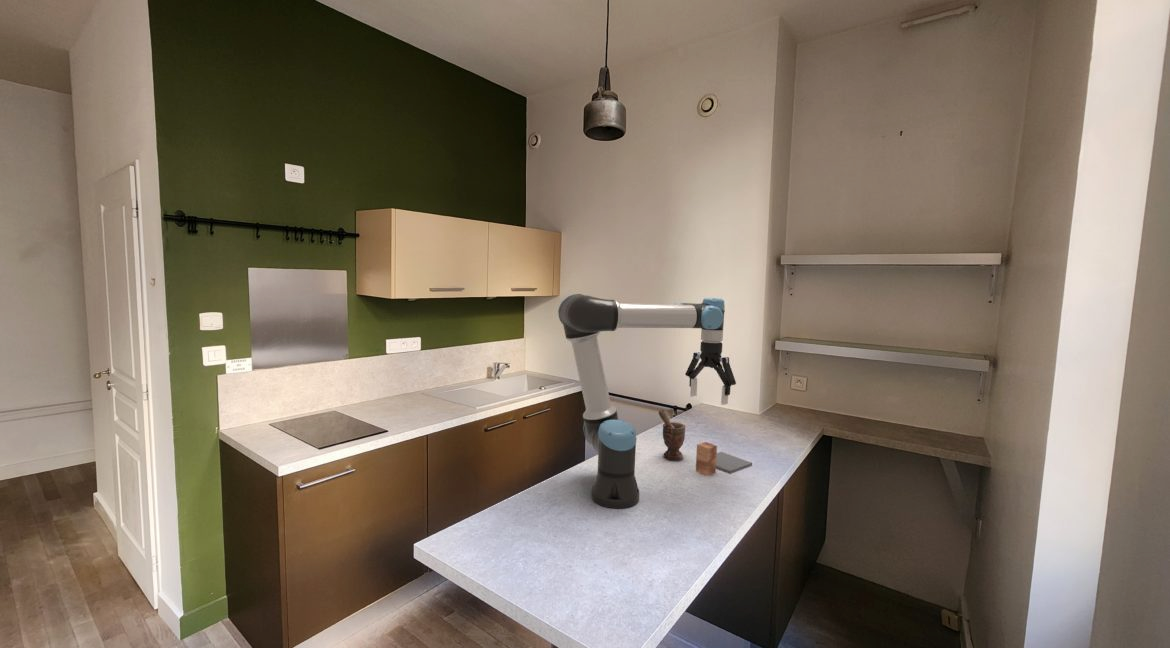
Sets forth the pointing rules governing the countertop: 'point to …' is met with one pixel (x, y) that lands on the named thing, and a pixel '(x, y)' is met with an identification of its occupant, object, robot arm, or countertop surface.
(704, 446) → the terracotta block
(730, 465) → the slate card
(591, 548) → the countertop surface
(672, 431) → the mortar and pestle
